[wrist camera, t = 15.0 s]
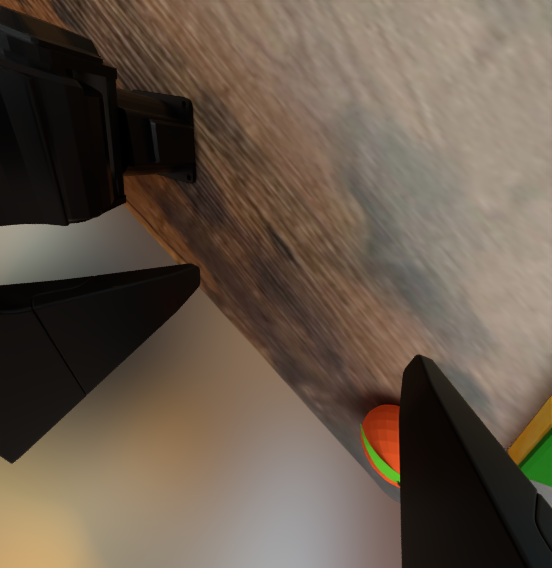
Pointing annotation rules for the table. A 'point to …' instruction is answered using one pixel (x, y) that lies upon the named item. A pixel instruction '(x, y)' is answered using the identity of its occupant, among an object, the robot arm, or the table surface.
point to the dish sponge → (536, 447)
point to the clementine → (383, 441)
